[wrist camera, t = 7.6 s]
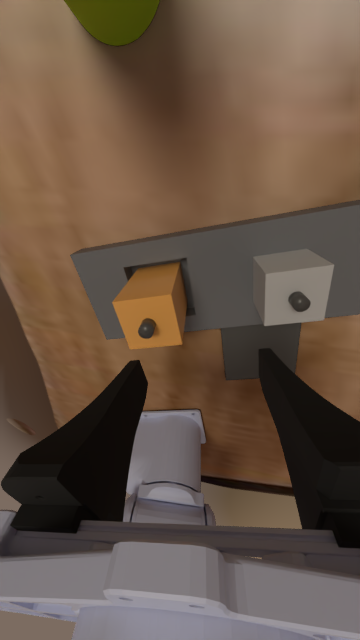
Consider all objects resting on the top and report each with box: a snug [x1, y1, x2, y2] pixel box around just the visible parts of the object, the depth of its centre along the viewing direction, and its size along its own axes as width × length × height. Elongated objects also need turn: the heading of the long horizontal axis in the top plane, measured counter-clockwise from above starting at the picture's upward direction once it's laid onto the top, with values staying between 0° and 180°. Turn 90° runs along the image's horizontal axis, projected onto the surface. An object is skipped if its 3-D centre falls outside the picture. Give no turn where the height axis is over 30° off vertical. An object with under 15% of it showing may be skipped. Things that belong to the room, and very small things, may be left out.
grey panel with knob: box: [70, 200, 360, 340], centre depth 17 cm, size 32×9×7 cm, turn 100°
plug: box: [112, 262, 187, 349], centre depth 17 cm, size 4×4×8 cm
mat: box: [221, 322, 301, 380], centre depth 24 cm, size 8×8×1 cm
